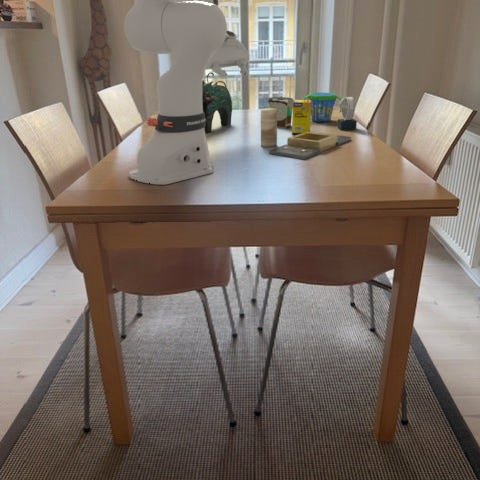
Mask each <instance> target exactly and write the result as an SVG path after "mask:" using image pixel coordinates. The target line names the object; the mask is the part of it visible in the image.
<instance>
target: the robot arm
mask: <svg viewBox="0 0 480 480" xmlns="http://www.w3.org/2000/svg"><path fill="white" fill-rule="evenodd" d="M123 29H124V35H125V37H126V40H127V42H128V43H129V45H130V46H131V48H133V49H134V50H136V51H138V52H139V51H140V52H143V53H146V54H151V55H152V54H153V55H156V54H157V55H166V54H167V55H172V63H171V66H170V68H169V69H168V70H167V71H166V72H164V73H163V74H161V76H160V77H159V78H158V80H157V82H156V95H157V104H158V105H157V106H158V114H157V117H156V118H154V117H153V118H152V117H148V118H147V120H146V122H145V123H146V125H147V126H149V127H153V128H154V129H155V130H154V132H153V133H152V134H151V136H150V137H149V138H148V140H147V141H146V142H145V143H144V144H143V145H142V147H140V149H139V150H138V152H137V158H136V166H137V167H136V169H133V170H131V171H129V172H128V177H129V179H131V180H133V179H134V180H133V181H136V180H137V181H136V182H140V183H144V184H149V183H150V184H149V185H169V184H174V183H178V182H181V181H185V180H189V179H193V178H197V177H200V176H206V175H209V174H212V173H214V167H213V164H212V161H211V156H210V151H209V145H208V139H207V136H206V133H205V130H204V127H205V126H206V124H205V121H206V119H205V113H204V112H203V102H202V82H203V79H204V75H205V72H206V70H207V71H208V70H212V72H213V73H215V74H217V75H218V76H219V77H220V79H226V78H227V77H228V72H226V70H225V69H224V70H223V68H230V67H232V68H233V67H238V68H240V71H239V73H240V74H241V76H247V75H248V73H249V71H248V69H247V67H246V64H247V63H248V61H250V53H249V52H248V50H247V49H246V47H245V46H244V44H243V43H242V42H241V41H240V40H239V39H238V35H237V33H235V31H230V30H228V24H227V20H226V17H225V14H224V12H223V11H222V9H221V8H220V7H219V0H135V1H134V3H133V5H132V7H130V9H129V11H127V13H126V16H125V19H124V24H123Z"/></svg>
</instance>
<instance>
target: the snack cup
mask: <svg viewBox="0 0 480 480" xmlns="http://www.w3.org/2000/svg"><path fill="white" fill-rule="evenodd" d="M307 98H308V100H311V121H313V122H315V123H317V122H319V123H323V122H325V123H326V122H331V120H332V115H333V111H334V106H335V102H336V99H337V98H338V100H339V102H340V101H341V100H342V98H341V97H340V95H337V94H336V93H333V92H311V93H308V95H306V96H305V97H304V98H302V100H307ZM339 113H342V111H341V109H340V110H339Z"/></svg>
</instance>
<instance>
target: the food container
mask: <svg viewBox="0 0 480 480" xmlns="http://www.w3.org/2000/svg"><path fill="white" fill-rule="evenodd" d="M294 100H295V99H294V98H293V97H288V96H287V97H285V96H270V97H268V99H267V104H268V108H275V109H277V128H281V129H289V128H292V117H293V102H294Z"/></svg>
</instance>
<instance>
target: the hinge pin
mask: <svg viewBox="0 0 480 480" xmlns="http://www.w3.org/2000/svg"><path fill="white" fill-rule="evenodd" d="M260 146H261V148H277V147H278V127H277V109H275V108H269V107H268V108H261V109H260Z"/></svg>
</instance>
